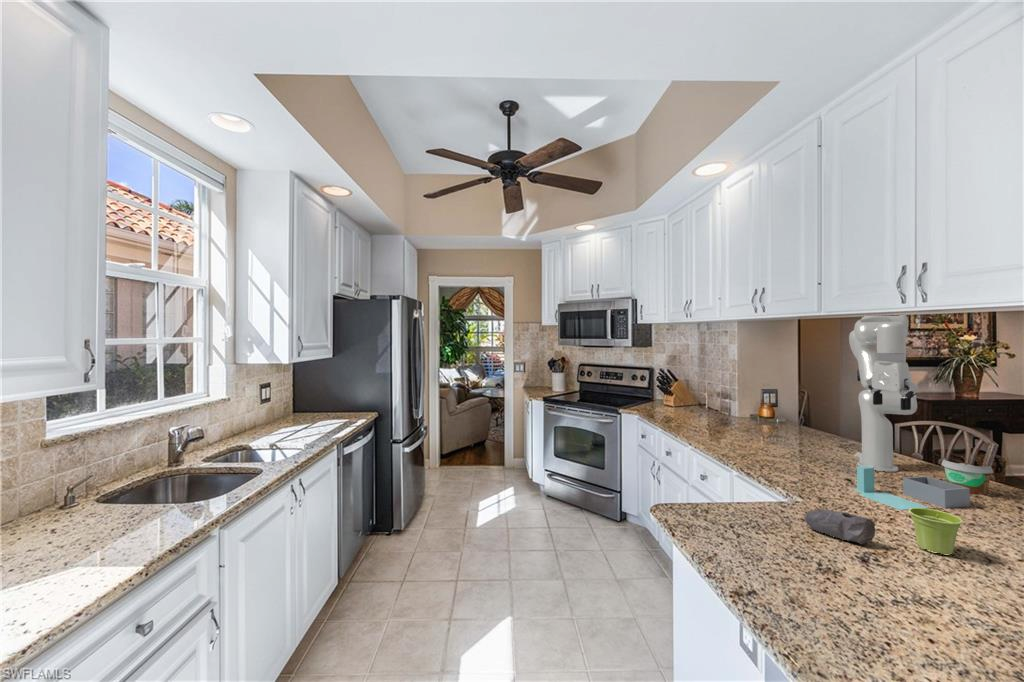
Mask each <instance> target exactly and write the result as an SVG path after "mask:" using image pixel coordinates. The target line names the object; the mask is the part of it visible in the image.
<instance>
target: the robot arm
mask: <svg viewBox="0 0 1024 682" xmlns="http://www.w3.org/2000/svg"><path fill="white" fill-rule="evenodd" d="M863 316H864V315H863ZM863 316H862V317H861V319H858V320H857V321H856V322H855V323H854V328H853V330H852V331H851V332H849V335H848V342H849V347H850V350H851V352H852V353H853V356H854V357H855V360H856V361H857V364H858V365H857V366H858V370H859V371H858V372H859V373H858V374H859V379H860V384H861V386H862V387H863V388H865V389H864V390H861V391H860V392H859V394H858V396H857V397H858V404H859V409H860V419H861V452H859V451H858V452H856V453H855V454H854V456H853V457H854V458H858V459H859V460H858V461H857V463H856V464H857V467H858V466H869V467H872V468H874V471H875V470H876V471H875V472H883V471H885V472H886V473H894V472H898V471H899V467H898V466H897V465H894V444H893V443H894V437H893V436H894V435H893V434H894V432H893V431H894V430H893V429H894V428H893V424H892V422H891V421H890V420H889V419H888V418H887V417H886V416H885V415H884V414H886V415H887V414H888V415H890V414H891V415H903V416H908V415H910V416H911V415H913V414H914V413H916V412H917V410H918V402H917V396H916V395H917V394H918V393H917V392H918V391H919V389H920V386H919V385H918V384H915V383H914V381H913V378H912V375H911V373H910V368H909V364H908V362H906V361H907V351H906V350H907V349H906V348H907V338H908V335H909V331H908V330H909V318H908V316H907V314H905V315H900V316H864V317H863ZM871 348H876V351H875V350H874V349H871Z"/></svg>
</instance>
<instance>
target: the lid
mask: <svg viewBox="0 0 1024 682" xmlns="http://www.w3.org/2000/svg"><path fill="white" fill-rule="evenodd" d="M853 491H855V492H858V493H859V496H862V497H863V498H866V499H869V500H872V501H875V502H877V503H880V504H883V505H886V506H888V507H891V508H892V509H895V510H898V511H909V509H910V508H926V509H930V507H929V506H926V505H923V504H919V503H918V502H914V501H911V500H909V499H905V498H902V497H900V496H898V495H894V494H891V493H888V492H878V491H875V470H874V468H872V467H869V466H858V465H857V466H856V488H854V489H853ZM860 493H861V494H860Z"/></svg>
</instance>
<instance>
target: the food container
mask: <svg viewBox="0 0 1024 682" xmlns="http://www.w3.org/2000/svg"><path fill="white" fill-rule="evenodd" d="M941 466H942V467H944V471H945V479H946V482H948V483H952V484H956V485H959V486H963V487H966V488H969V490H970V495H977V496H978V495H979V496H985V497H988V495H989V494H988V492H989V487H990V480H991V474H994V470H993V468H992V466H991V465H990V466H977V465H973V464H971V463H965V462H956V461H955V462H954V461H951V460H950V461H949V460H947V459H946V458H945V457H944V458H943V460H942V461H941Z"/></svg>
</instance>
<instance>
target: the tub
mask: <svg viewBox="0 0 1024 682" xmlns="http://www.w3.org/2000/svg"><path fill="white" fill-rule="evenodd" d="M902 494H903V495H904V496H908V497H910V498H913V499H917V500H919V501H923V502H924V503H925V502H926V503H927V504H928V503H929V504H930V505H935V506H937V507H940V508H942V509H943V508H944V509H953V508H962V507H963V508H965V507H971V505H970V503H971V502H970V501H971V500H970V498H971V497H970V495H971V494H970V490H969V488H966V487H963V486H959V485H956V484H952V483H948V482H947V481H944V480H941V479H937V478H933V477H930V476H925V475H924V476H923V475H922V476H912V477H910V476H909V477H908V476H907V477H902Z"/></svg>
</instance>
